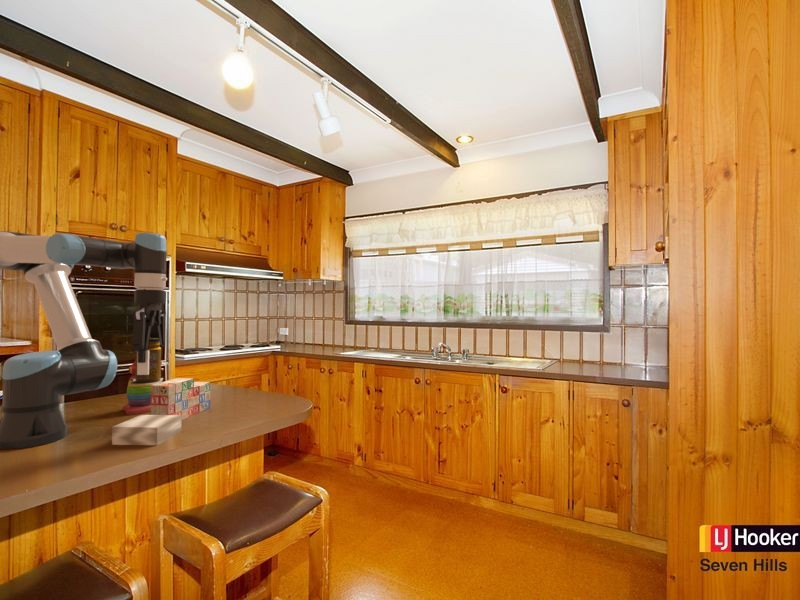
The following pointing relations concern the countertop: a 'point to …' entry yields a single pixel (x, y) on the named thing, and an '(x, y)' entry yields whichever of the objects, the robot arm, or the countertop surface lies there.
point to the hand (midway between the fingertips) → (149, 372)
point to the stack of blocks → (180, 397)
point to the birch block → (146, 430)
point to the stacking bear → (137, 395)
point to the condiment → (151, 365)
